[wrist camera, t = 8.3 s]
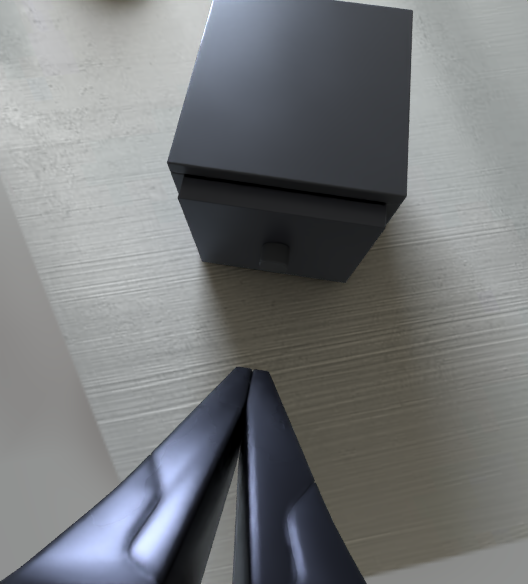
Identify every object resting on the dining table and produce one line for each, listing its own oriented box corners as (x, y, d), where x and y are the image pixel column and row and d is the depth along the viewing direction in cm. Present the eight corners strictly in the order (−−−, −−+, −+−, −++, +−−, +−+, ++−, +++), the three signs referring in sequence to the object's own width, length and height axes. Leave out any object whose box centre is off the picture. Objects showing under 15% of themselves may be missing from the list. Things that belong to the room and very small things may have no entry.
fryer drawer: (344, 300, 23) (384, 251, 16) (198, 278, 23) (171, 220, 16) (357, 149, 27) (395, 52, 19) (231, 131, 27) (221, 29, 20)
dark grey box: (352, 272, 25) (407, 197, 16) (199, 249, 25) (166, 162, 16) (363, 134, 28) (413, 9, 19) (229, 116, 28) (216, -16, 19)
